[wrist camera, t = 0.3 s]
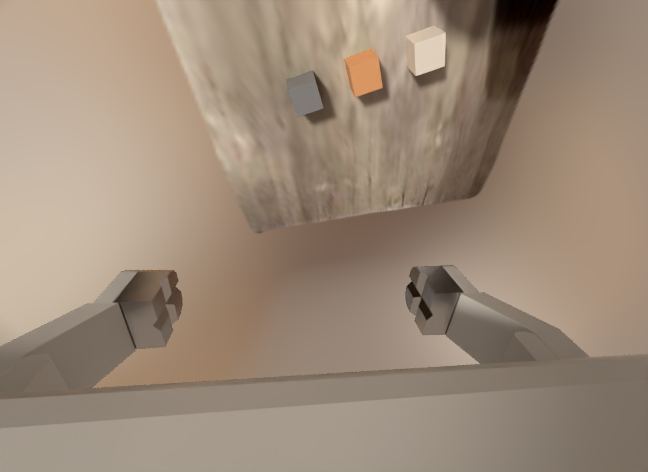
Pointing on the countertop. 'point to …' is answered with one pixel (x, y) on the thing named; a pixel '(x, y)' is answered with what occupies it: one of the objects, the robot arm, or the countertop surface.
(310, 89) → the charcoal cube
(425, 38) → the offwhite cube
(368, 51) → the terracotta cube
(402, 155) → the countertop surface
